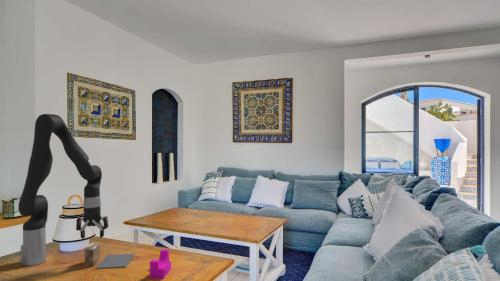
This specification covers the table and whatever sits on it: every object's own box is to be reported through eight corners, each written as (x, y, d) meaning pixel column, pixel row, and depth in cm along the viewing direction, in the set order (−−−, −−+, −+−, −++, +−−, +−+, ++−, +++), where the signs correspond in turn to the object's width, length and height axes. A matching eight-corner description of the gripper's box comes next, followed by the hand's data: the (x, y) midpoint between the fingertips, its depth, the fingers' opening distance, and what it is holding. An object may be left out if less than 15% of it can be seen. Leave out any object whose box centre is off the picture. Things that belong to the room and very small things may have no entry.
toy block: (163, 278, 130) (163, 262, 130) (149, 278, 131) (149, 261, 131) (174, 264, 145) (174, 249, 145) (161, 264, 146) (161, 249, 146)
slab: (84, 267, 142) (84, 248, 142) (91, 260, 150) (91, 243, 150) (93, 266, 143) (93, 248, 143) (99, 260, 151) (99, 242, 151)
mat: (95, 269, 140) (95, 267, 140) (107, 256, 156) (107, 254, 156) (125, 267, 142) (125, 266, 142) (134, 254, 158) (134, 253, 158)
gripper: (73, 207, 142) (73, 241, 142) (104, 206, 144) (104, 239, 144) (80, 204, 149) (80, 236, 149) (109, 203, 151) (110, 234, 151)
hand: (92, 237), depth 146 cm, fingers open, 8 cm apart
